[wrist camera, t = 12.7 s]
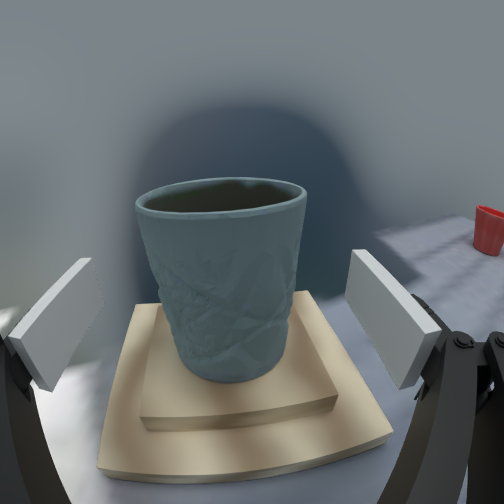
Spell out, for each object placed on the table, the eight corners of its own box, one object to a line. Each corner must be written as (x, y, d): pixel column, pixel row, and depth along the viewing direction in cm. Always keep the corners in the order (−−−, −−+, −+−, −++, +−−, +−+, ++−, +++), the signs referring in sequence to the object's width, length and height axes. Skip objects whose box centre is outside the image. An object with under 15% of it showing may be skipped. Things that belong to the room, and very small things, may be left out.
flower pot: (505, 252, 46) (514, 216, 42) (499, 263, 41) (510, 221, 37) (474, 239, 54) (481, 203, 50) (463, 246, 49) (472, 206, 46)
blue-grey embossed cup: (294, 312, 25) (302, 178, 20) (294, 400, 16) (315, 212, 11) (188, 305, 26) (174, 179, 21) (146, 381, 17) (99, 212, 12)
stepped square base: (305, 304, 33) (308, 275, 31) (384, 443, 15) (404, 416, 13) (139, 318, 30) (132, 289, 28) (108, 477, 12) (82, 454, 10)
